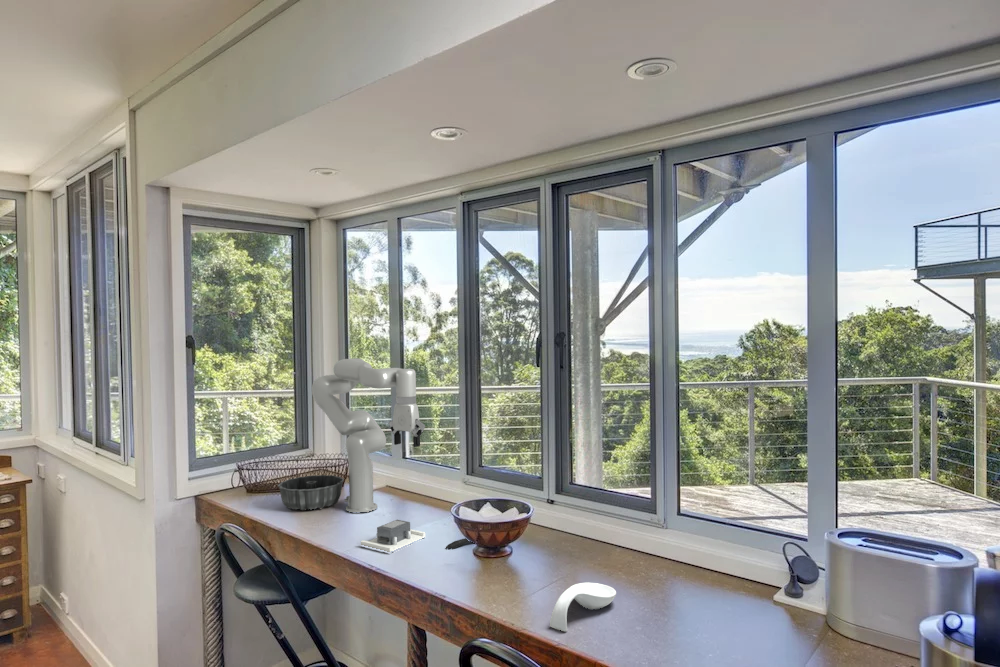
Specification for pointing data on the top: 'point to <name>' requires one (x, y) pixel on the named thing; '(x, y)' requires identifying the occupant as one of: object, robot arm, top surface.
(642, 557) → the top surface
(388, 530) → the block
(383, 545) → the tray
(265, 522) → the top surface
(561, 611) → the spoon rest
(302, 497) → the bundt pan
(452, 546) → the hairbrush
